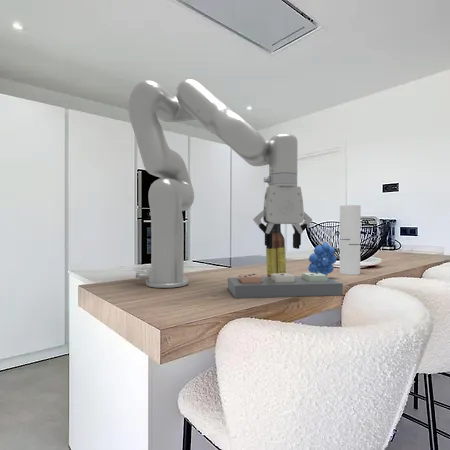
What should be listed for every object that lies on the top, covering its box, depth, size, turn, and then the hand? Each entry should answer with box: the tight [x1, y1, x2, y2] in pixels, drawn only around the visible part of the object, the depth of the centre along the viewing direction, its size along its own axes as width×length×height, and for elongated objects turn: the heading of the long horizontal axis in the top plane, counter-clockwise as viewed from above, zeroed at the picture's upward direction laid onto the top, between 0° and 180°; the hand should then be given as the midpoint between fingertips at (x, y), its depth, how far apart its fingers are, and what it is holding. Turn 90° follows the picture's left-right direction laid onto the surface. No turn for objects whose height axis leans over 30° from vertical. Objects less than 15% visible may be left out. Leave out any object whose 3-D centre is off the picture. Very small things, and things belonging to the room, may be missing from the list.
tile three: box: [238, 273, 262, 283], centre depth 84 cm, size 5×5×3 cm
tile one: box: [271, 272, 295, 283], centre depth 86 cm, size 5×5×3 cm
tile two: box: [301, 272, 328, 282], centre depth 87 cm, size 5×5×3 cm
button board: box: [227, 275, 344, 299], centre depth 86 cm, size 28×12×3 cm, turn 98°
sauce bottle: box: [265, 224, 287, 277], centre depth 105 cm, size 6×6×20 cm
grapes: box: [307, 242, 338, 276], centre depth 106 cm, size 12×7×12 cm, turn 117°
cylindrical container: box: [339, 204, 362, 276], centre depth 118 cm, size 7×7×25 cm
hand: (282, 247), depth 86 cm, fingers open, 6 cm apart
